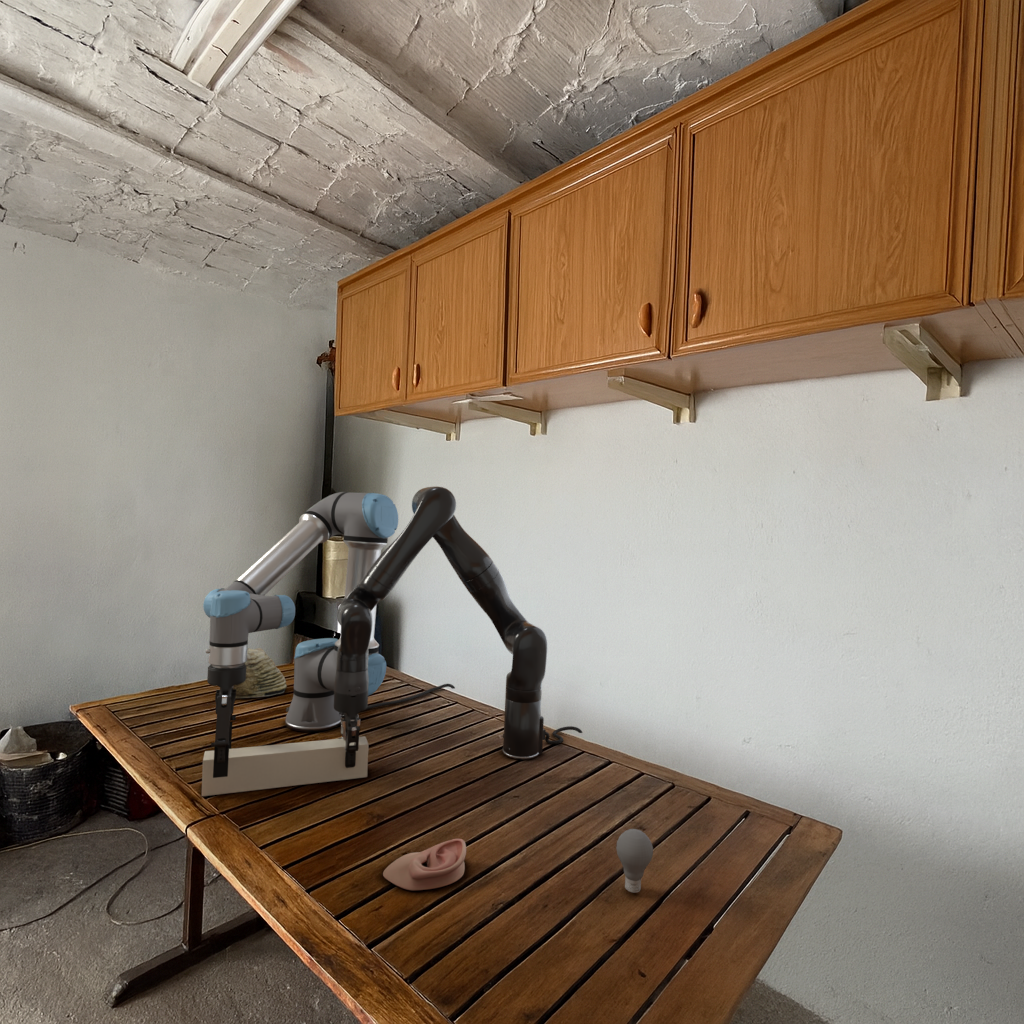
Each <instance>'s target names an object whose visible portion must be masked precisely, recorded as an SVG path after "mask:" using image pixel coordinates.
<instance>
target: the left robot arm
mask: <svg viewBox="0 0 1024 1024" xmlns="http://www.w3.org/2000/svg"><path fill="white" fill-rule="evenodd" d="M398 512H399V511H398V508H397V506H396V504H395V503H394V501H393V499H391V497H389V496H387V495H385V494H382V493H376V492H352V491H351V492H349V491H339V492H335V493H333V494H329V495H328V496H326V497H324V498H322V499H320V500H319V501H318V502H316V503H315V504H313V505H312V506H310V508H308V509H307V510H306V511H305V512H304V513H302V514H301V515H300V517H299V518H298V523H297V524H296V525H295V526H293V528H291V529H290V530H289V531H288V532H287V533H285V535H284V536H283V537H281V538H280V539H279V540H278V541H277V542H275V544H274V545H273V546H271V547H270V548H269V549H268V550H267V551H266V552H265V553H264V554H263V555H262V556H261V557H259V558H258V559H257V560H256V561H255V562H253V564H252V565H251V566H249V567H248V568H247V569H246V570H245V571H243V573H242V574H241V575H239V576H238V577H237V578H236V579H235V580H234V581H233V582H232V583H230V584H229V585H228V586H226V588H215V589H213V590H211V591H209V592H208V593H207V594H206V596H205V598H204V600H203V603H202V605H203V612H204V613H205V615H206V616H207V617H208V618H209V645H208V646H209V647H208V648H206V649H205V653H206V654H209V655H208V664H209V665H208V666H207V677H206V682H207V684H208V685H209V686H212V687H219V689H216V692H215V696H214V701H215V710H214V711H215V715H216V723H215V737H214V742H213V741H212V742H211V743H210V747H211V748H214V749H213V750H214V766H213V778H218V777H228V760H229V749H232V741H233V740H232V739H233V738H232V737H233V721H236V719H237V715H236V714H234V707H235V703H236V702H235V701H236V699H237V698H236V689H233V686H234V685H239V684H241V683H243V682H244V681H245V680H246V665H245V662H246V661H247V652H248V648H249V634H252V633H257V632H264V631H270V630H278V629H281V628H284V627H288V626H289V625H291V624H292V623H293V621H294V619H295V616H296V605H295V603H294V601H293V599H292V598H291V597H290V596H288V595H287V594H274V595H267V594H268V593H269V592H270V591H271V590H273V588H274V587H275V586H277V584H279V582H280V581H281V580H283V578H285V577H286V575H287V574H289V573H290V572H291V570H293V569H294V568H295V567H296V566H297V565H298V564H299V563H300V562H301V561H302V560H303V559H305V557H306V556H308V554H310V553H311V552H312V551H313V550H314V549H315V548H316V547H317V546H318V545H319V544H324V543H326V542H327V541H328V540H330V538H332V537H334V536H337V535H343V543H344V545H346V546H347V548H348V550H347V551H348V552H347V564H346V575H345V586H344V598H343V600H344V599H345V598H346V597H347V596H348V594H349V593H350V592H351V591H352V590H353V589H354V588H355V587H356V586H357V585H358V584H359V583H360V582H361V581H362V580H363V578H364V576H365V575H366V574H367V572H368V571H369V569H370V568H371V567H372V565H373V564H374V563H375V561H376V560H377V559H378V558H379V556H380V555H381V554H382V550H383V549H384V548H385V547H386V546H388V538H390V537H392V536H393V535H394V534H395V533H396V531H397V529H398V525H399V513H398ZM377 605H378V603H377V604H376V606H375V607H374V608H373V609H372V611H371V613H372V632H371V638H370V643H369V648H368V676H369V684H368V697H370V696H372V695H373V694H374V693H376V691H377V690H378V689H379V688H380V686H381V685H382V683H383V682H384V679H385V677H386V673H387V661H386V660H385V657H384V656H383V655H382V654H380V653H379V649H380V644H379V642H377V640H376V639H375V628H376V617H377ZM340 644H341V637H340V638H339V639H338V638H335V637H324V638H323V637H322V638H313V639H308V640H304V641H302V642H299V643H298V644H297V645H296V647H295V652H294V653H295V654H294V657H293V658H294V660H293V662H294V663H293V665H294V666H293V695H292V696H293V697H292V699H291V702H290V704H289V706H288V707H285V712H287V713H286V715H285V726H286V728H287V729H289V730H291V731H294V732H295V731H296V732H301V733H316V732H325V731H329V730H332V729H335V728H337V727H339V726H341V720H340V718H341V716H342V713H340V712H337V711H336V710H335V709H334V689H335V675H336V669H337V668H336V667H337V651H338V647H339V645H340ZM445 688H450V689H452V690H454V689H456V686H454V685H453V684H451V683H444V684H441V685H438V686H435V687H432V688H429V689H426V690H424V691H422V692H420V693H417V694H414V695H411V696H408V697H405V698H401V699H396V700H395V699H394V700H390V701H384V702H378V703H374V704H368V706H367V708H366V709H365V710H364V711H367V710H370V709H375V708H379V707H385V706H391V705H397V704H402V703H405V702H408V701H409V702H410V701H412V700H415V699H417V698H420V697H423V696H426V695H428V694H430V693H432V692H434V691H439V690H442V689H445Z"/></svg>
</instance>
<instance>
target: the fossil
mask: <svg viewBox="0 0 1024 1024" xmlns="http://www.w3.org/2000/svg"><path fill="white" fill-rule="evenodd" d="M245 665H246V680H245V681H244V682H243V683H241V684H239V685H234V686H233V689H236V699H250V698H264V697H271V696H275V695H281V694H284V693H285V691H286V689H287V687H288V686H287V680H286V678H285V676H284V674H283V673H282V672H281V669H279V668H278V667H277V665H276V663H275V662H274V660H273V659H272V658H271V657H270V656H269V655H268V654H267V653H266V652H265V650H264V649H263V648H260V647H258V648H251V647H248V652H247V661H246V662H245Z"/></svg>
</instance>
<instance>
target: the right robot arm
mask: <svg viewBox="0 0 1024 1024" xmlns="http://www.w3.org/2000/svg"><path fill="white" fill-rule="evenodd" d="M456 509H457V500H456V497H455V495H454V494H453V492H452V491H451V490H449V489H448V488H446V487H444V486H426V487H423V488H420V489H419V490H418V491H417V492H415V493H414V495H413V498H412V500H411V510H412V513H413V515H412V517H411V519H410V521H408V523H407V525H406V527H405V528H404V529H403V530H402V532H401V533H400V534H399V535H398V536H397V537H396V539H394V540H393V542H391V543H390V544H389V545H388V547H386V548H385V549H384V551H383V552H381V555H380V556H379V558H378V559H377V560H376V561H375V563H374V564H373V565H372V567H371V568H370V569H369V571H368V572H367V574H366V575H365V576H364V578H363V580H362V581H361V582H360V583H359V584H358V585H357V586H356V587H355V588H354V589H353V590H352V591H351V592H350V593H349V594H348V596H347V597H346V598H345V597H344V598H345V599H344V598H343V600H342V601H341V603H340V605H339V606H338V608H337V611H336V620H337V622H338V624H339V625H340V638H341V644H340V645H339V647H338V651H337V667H336V668H337V669H336V675H335V689H334V709H335V710H336V711H337V712H340V713H342V716H341V718H340V720H341V724H340V735H341V739H342V738H343V740H344V741H345V751H346V752H345V767H346V768H351V767H355V762H356V751H358V749H359V747H358V745H359V737H360V731H361V727H360V726H361V718H360V717H359V713H361V712H364V711H366V710H365V709H366V708H367V706H369V696H368V684H369V676H368V648H369V643H370V638H371V632H372V613H371V611H372V609H373V608H374V607H375V606H376V607H377V605H378V604H379V603H380V602H381V601H384V600H385V599H386V598H388V596H389V595H390V594H391V592H392V591H393V590H394V588H395V587H396V585H397V584H398V583H399V581H400V580H401V578H402V577H403V576H404V574H405V573H406V571H407V570H408V569H409V567H410V566H411V564H412V563H413V562H414V560H415V559H416V557H418V555H419V554H420V553H421V551H422V550H423V549H424V548H425V546H426V545H428V543H429V542H430V541H431V540H432V538H433V539H434V541H435V542H436V543H437V544H438V547H440V549H441V551H442V552H443V554H444V556H445V557H446V560H447V561H448V562H449V564H450V565H451V567H452V569H453V570H454V572H455V573H456V575H457V577H458V579H459V580H460V581H461V582H462V584H463V586H464V587H465V589H466V590H467V592H468V593H469V594H470V595H471V596H472V598H473V599H474V601H475V602H476V604H477V605H478V606H479V607H480V609H481V610H482V611H483V612H484V613H485V614H486V615H487V617H488V618H489V620H490V621H491V623H492V624H493V627H494V629H496V632H497V633H498V635H499V637H500V639H501V641H502V643H503V645H504V647H505V648H506V650H507V651H508V652H509V653H510V654H511V655H512V660H511V661H512V662H511V664H512V665H511V670H510V671H509V672H507V674H506V677H505V695H504V698H505V699H504V718H503V719H504V720H503V733H502V739H503V741H502V754H503V755H504V756H506V757H508V758H510V759H514V760H521V761H525V760H531V759H535V758H537V757H538V756H539V755H543V747H544V746H543V743H544V742H545V743H546V744H549V745H559V744H562V743H563V742H564V738H563V736H561V735H559V733H561V732H564V731H575V732H578V733H579V734H583V731H582V730H581V728H579V727H578V726H572V725H571V726H570V725H569V726H568V725H567V726H563V727H559V728H557V729H555V730H554V731H552V736H553V737H554V738H555V739H556V740H550V738H551V737H550V736H551V735H550V733H549V732H547V730H546V729H545V728H544V723H545V722H544V721H545V718H544V716H543V715H542V691H543V682H544V678H545V676H546V671H547V660H548V659H547V658H548V638H547V635H546V633H545V631H544V630H543V629H542V628H540V627H539V626H537V625H535V624H533V623H532V622H530V621H529V620H527V619H526V617H525V616H524V615H523V613H521V611H520V610H519V608H518V607H517V606H516V605H515V603H514V602H513V600H512V598H511V596H510V593H509V590H508V587H507V584H506V581H505V578H504V576H503V574H502V573H501V571H500V570H499V569H498V567H497V565H496V563H495V562H494V561H493V560H492V558H491V557H490V555H489V553H487V551H486V550H485V549H484V548H483V547H482V546H481V545H480V544H479V543H478V542H477V541H476V540H475V539H474V538H473V537H471V535H470V534H468V532H467V531H466V530H465V529H464V527H462V525H461V523H460V522H459V520H458V519H457V517H456V515H455V513H456ZM376 604H377V605H376ZM350 743H354V745H350ZM349 745H350V746H349Z"/></svg>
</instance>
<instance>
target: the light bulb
mask: <svg viewBox="0 0 1024 1024" xmlns="http://www.w3.org/2000/svg"><path fill="white" fill-rule="evenodd" d="M615 849H616V854H617V857H618V859H619V861H620V863H621V865H622V867H623V873H624V874H623V875H624V876H625V878H624V888H625V890H627V891H628V892H630V893H634V894H635V893H639V892H640V891H641V889H642V887H641V886H642V879H643V877H644V875H645V871H646V868H647V867H648V866H649V864H650V863H651V861H652V859H653V855H654V847H653V843H652V841H651V838H649V836H648V835H647V834H646V833H645V832H643V831H642V830H641V829H636V828H629V829H627V830H625V831H623V832H622V833H621V834H620V835H619V837H618V839H617V841H616V847H615Z"/></svg>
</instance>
